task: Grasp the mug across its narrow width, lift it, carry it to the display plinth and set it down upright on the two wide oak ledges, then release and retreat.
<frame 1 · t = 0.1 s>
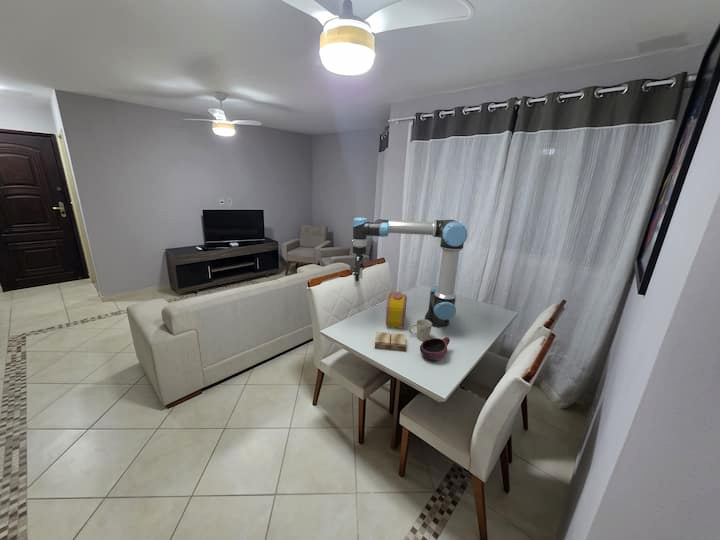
hand: (358, 282, 156), 28 cm above the table, fingers open, 13 cm apart
mug: (418, 338, 152), on the table
bowl: (433, 355, 137), on the table
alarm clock: (395, 323, 168), on the table
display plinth: (390, 344, 145), on the table
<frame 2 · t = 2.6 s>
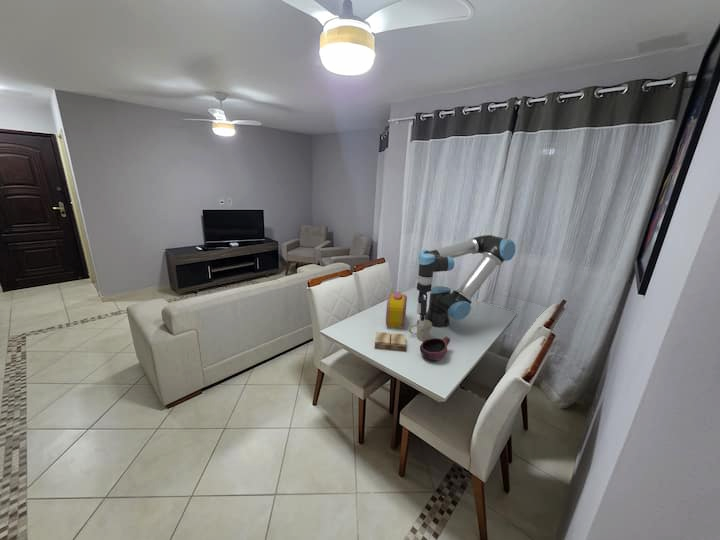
hand: (420, 319, 148), 12 cm above the table, fingers open, 13 cm apart
nothing on the table moved.
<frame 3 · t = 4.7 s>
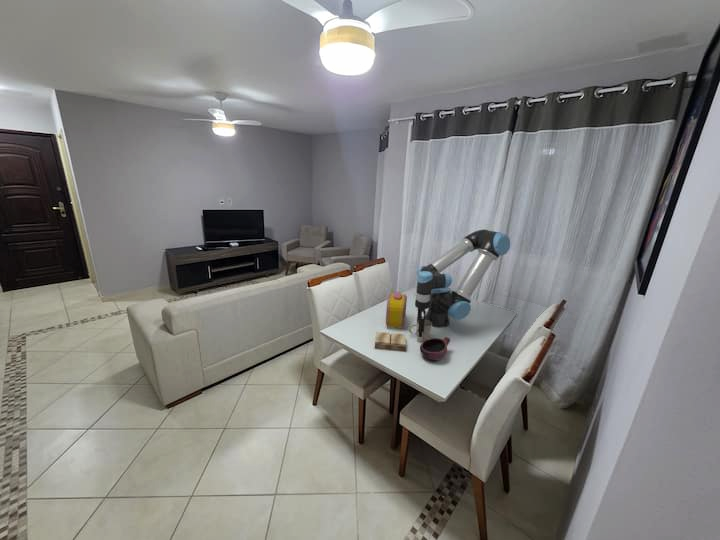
hand: (418, 337, 152), 0 cm above the table, fingers closed on mug, 6 cm apart
mug: (418, 338, 152), on the table, touching gripper
everything else where it was.
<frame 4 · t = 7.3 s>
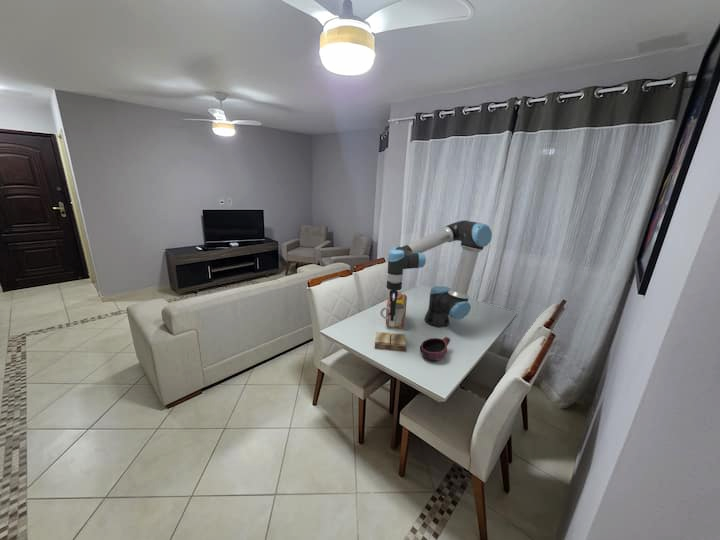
hand: (391, 322, 141), 13 cm above the table, fingers closed on mug, 6 cm apart
mug: (391, 323, 141), point 13 cm above the table, touching gripper
everything else where it was.
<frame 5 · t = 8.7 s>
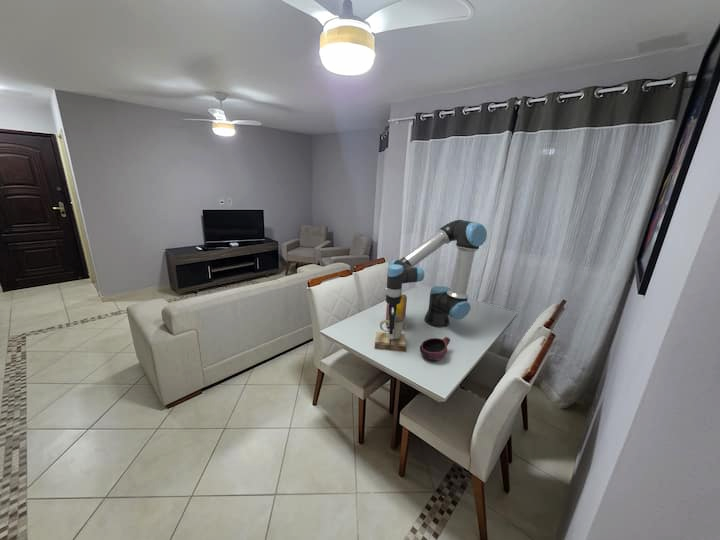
hand: (390, 335, 143), 6 cm above the table, fingers closed on mug, 6 cm apart
mug: (390, 335, 144), point 5 cm above the table, touching gripper
everything else where it was.
when the fingers open (4 cm above the table, at t = 9.4 s): mug stays where it is, resting on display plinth.
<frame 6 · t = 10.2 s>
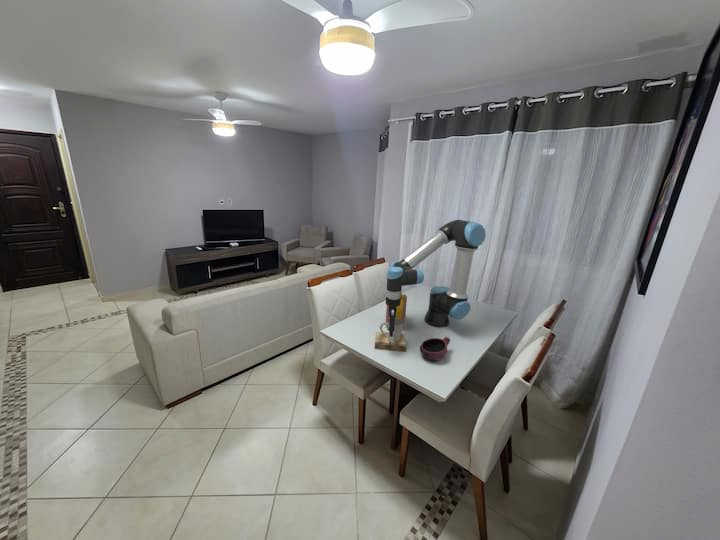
hand: (390, 334, 143), 6 cm above the table, fingers open, 13 cm apart
mug: (390, 338, 144), point 4 cm above the table, touching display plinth
everything else where it was.
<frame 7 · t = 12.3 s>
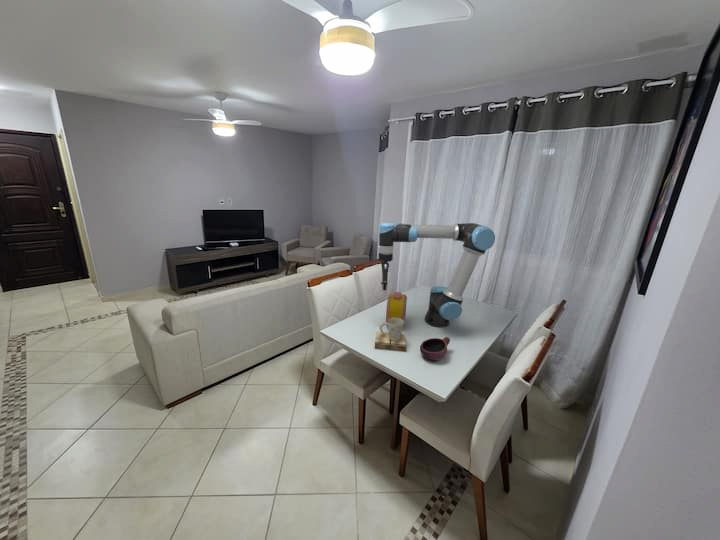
hand: (383, 290, 148), 26 cm above the table, fingers open, 13 cm apart
nothing on the table moved.
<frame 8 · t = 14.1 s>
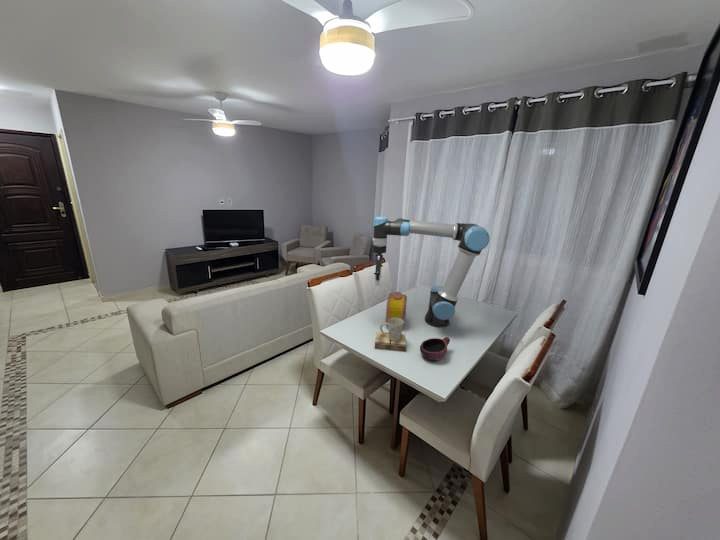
hand: (377, 281, 155), 29 cm above the table, fingers open, 13 cm apart
nothing on the table moved.
at the end: mug inside the target area on the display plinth (0.2 cm from its centre), point 3.8 cm above the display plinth's base; mug tilted 0°; the gripper is holding nothing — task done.
